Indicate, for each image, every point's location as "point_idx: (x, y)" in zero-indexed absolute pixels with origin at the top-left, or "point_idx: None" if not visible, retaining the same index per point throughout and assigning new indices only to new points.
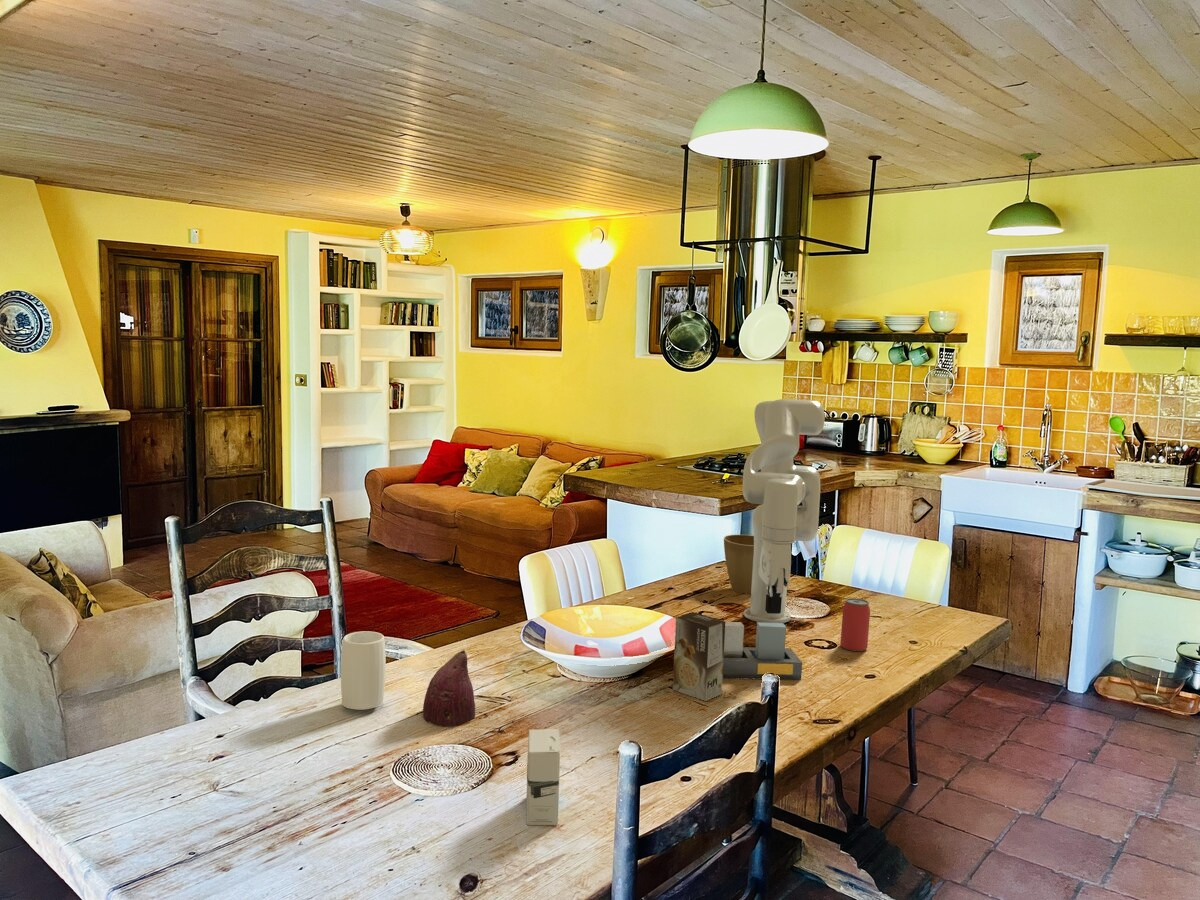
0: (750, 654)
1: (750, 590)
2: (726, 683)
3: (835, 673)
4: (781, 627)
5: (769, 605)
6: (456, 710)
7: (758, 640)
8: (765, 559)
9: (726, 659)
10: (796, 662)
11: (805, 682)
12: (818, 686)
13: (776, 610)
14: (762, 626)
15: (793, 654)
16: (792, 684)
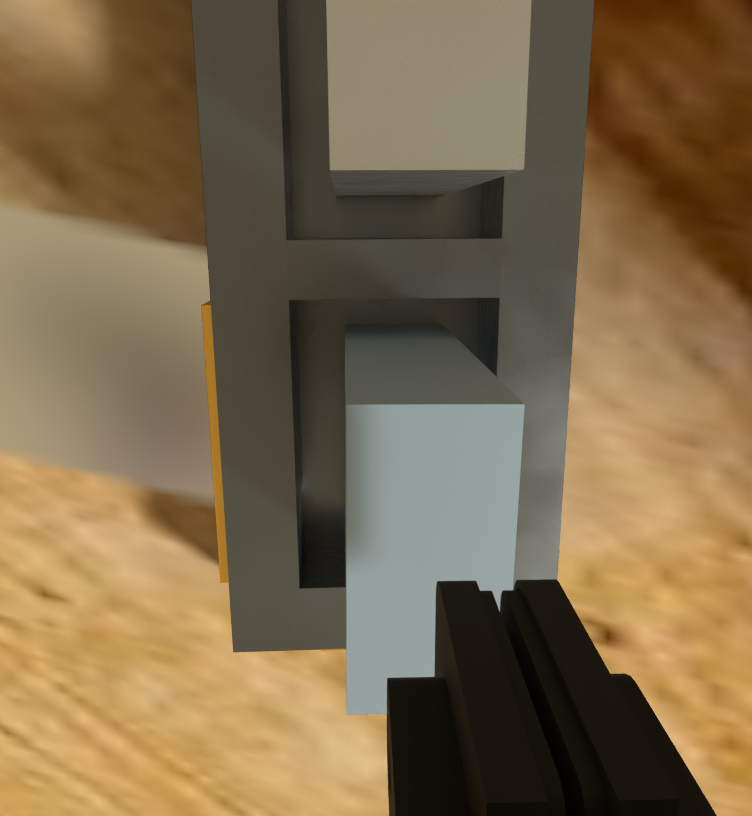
0: (390, 282)
1: None
2: (116, 30)
3: (381, 800)
4: (347, 660)
5: (456, 690)
6: None
7: (373, 364)
8: None
9: (235, 11)
10: (232, 611)
11: (209, 600)
12: (150, 658)
13: (387, 746)
14: (349, 436)
15: None
16: (163, 513)
